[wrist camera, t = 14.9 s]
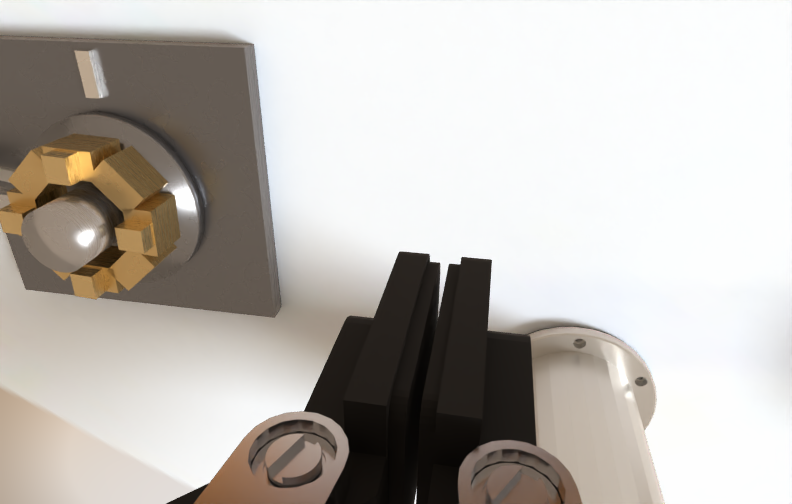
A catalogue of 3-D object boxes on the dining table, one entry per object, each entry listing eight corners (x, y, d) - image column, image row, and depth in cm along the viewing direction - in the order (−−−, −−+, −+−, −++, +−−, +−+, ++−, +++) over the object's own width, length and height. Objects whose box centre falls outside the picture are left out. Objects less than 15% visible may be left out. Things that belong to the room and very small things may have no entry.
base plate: (281, 307, 45) (236, 375, 38) (38, 280, 49) (-46, 338, 41) (253, 44, 36) (187, 67, 28) (-44, 34, 39) (-173, 52, 32)
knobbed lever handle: (170, 143, 37) (130, 165, 33) (188, 277, 42) (155, 310, 38) (-98, 110, 40) (-164, 127, 36) (-52, 240, 45) (-106, 267, 41)
